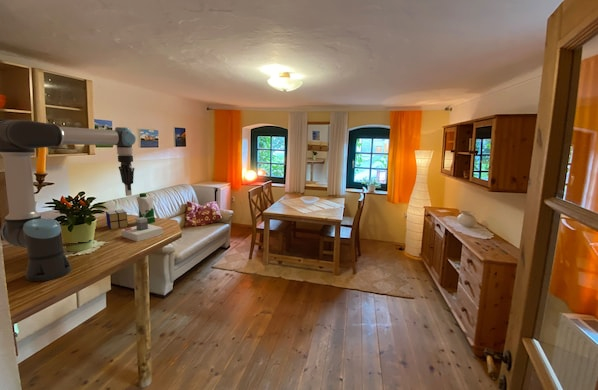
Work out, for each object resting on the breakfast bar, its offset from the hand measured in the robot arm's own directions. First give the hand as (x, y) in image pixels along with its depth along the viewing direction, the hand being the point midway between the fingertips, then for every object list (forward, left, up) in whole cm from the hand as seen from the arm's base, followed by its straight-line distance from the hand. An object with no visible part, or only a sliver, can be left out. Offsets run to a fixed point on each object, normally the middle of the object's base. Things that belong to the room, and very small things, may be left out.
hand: (128, 195), depth 176 cm
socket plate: (+3, -5, -24) cm, 25 cm away
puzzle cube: (+4, +25, -25) cm, 35 cm away
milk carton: (+20, +17, -24) cm, 36 cm away
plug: (+3, -5, -24) cm, 25 cm away
